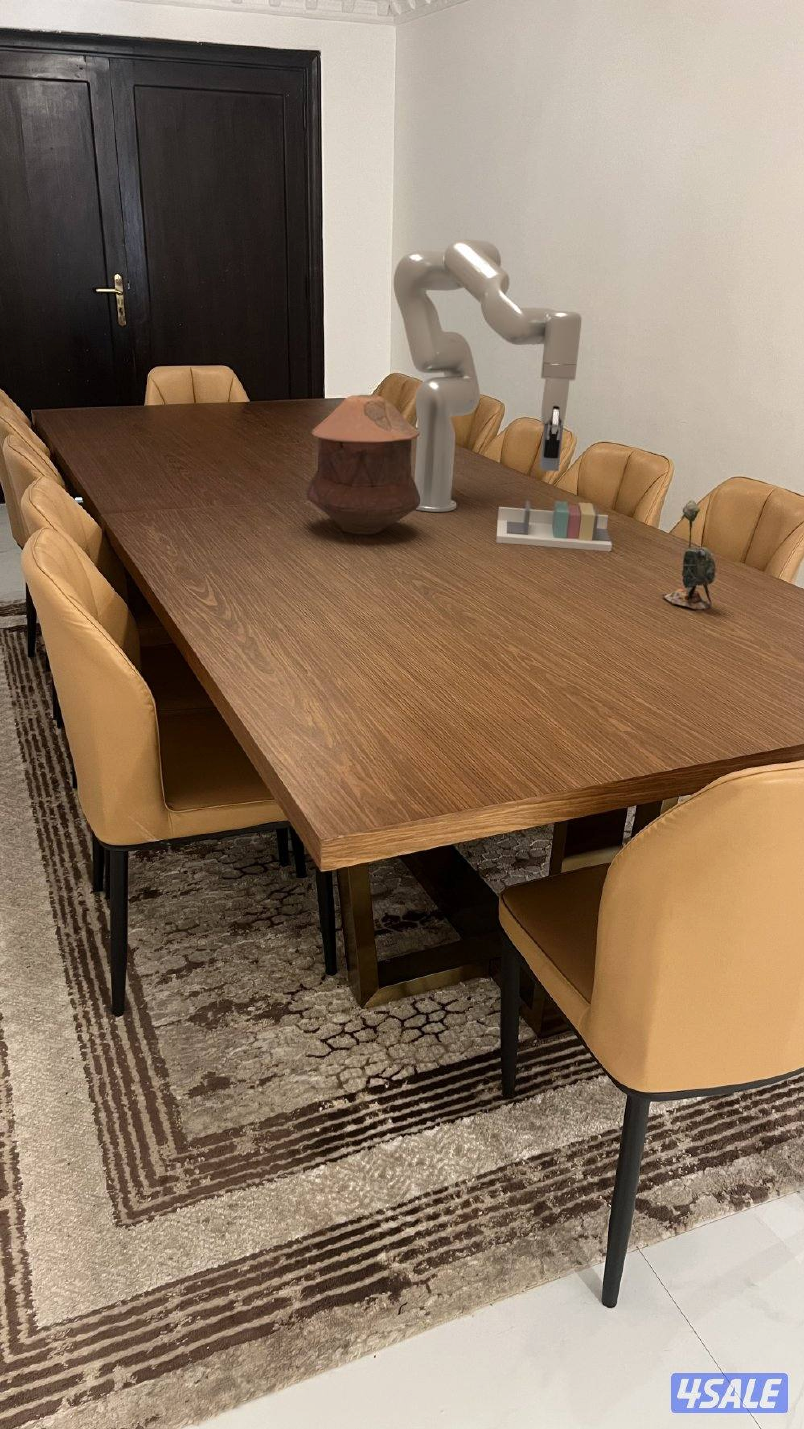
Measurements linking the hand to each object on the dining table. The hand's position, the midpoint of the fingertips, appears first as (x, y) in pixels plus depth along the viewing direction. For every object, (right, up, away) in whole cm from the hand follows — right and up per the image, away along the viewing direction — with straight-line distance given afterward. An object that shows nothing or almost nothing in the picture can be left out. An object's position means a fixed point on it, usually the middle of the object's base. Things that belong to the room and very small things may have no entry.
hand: (550, 454), depth 230 cm
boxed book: (0, -3, +1) cm, 3 cm away
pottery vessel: (-43, -17, +5) cm, 46 cm away
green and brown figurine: (+22, -38, -32) cm, 54 cm away
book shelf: (+2, -17, +8) cm, 19 cm away
